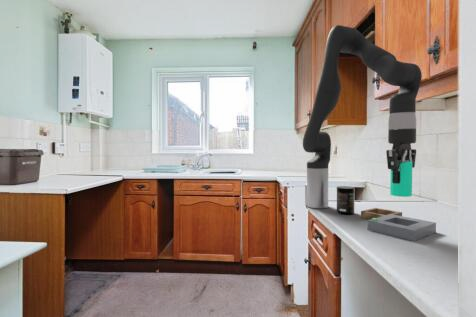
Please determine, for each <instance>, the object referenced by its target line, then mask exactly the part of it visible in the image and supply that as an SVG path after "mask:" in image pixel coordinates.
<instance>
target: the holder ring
mask: <svg viewBox="0 0 476 317" xmlns="http://www.w3.org/2000/svg"><path fill="white" fill-rule="evenodd" d="M389 214H393V215H398V216H403V211H402V212H401V211H396V210H391V209H386V208H385V209H384V208H379V207H372V208H369V209H365V210H361V211H360V218H361V219H365V220H371V219H372V218H378V217H382V216H386V215H389Z"/></svg>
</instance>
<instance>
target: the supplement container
mask: <svg viewBox="0 0 476 317" xmlns="http://www.w3.org/2000/svg"><path fill="white" fill-rule="evenodd" d="M355 192H356V190H355V186H348V185H347V186H346V185H342V186H341V185H340V186H338V185H337V186H336V213H338V214H339V215H344V216H350V215H351V216H352V215H355V214H354V213H355Z"/></svg>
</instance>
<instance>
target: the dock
mask: <svg viewBox="0 0 476 317" xmlns="http://www.w3.org/2000/svg"><path fill="white" fill-rule="evenodd" d="M367 230H369V231H372V232H375V233H379V234H383V235H389V236H391V237H395V238H396V237H397V238H400V239H405V240H408V241H413V242H415V241H418V240H420V239H423V238H425V237H428V236H431V235H433V234H435V233H437V222H434V221H428V220H423V219H418V218H412V217H407V216H403V215H402V216H398V215H393V214H389V215H386V216H382V217H378V218H372V219H371V220H369V219H367Z"/></svg>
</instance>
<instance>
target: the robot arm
mask: <svg viewBox="0 0 476 317" xmlns="http://www.w3.org/2000/svg"><path fill="white" fill-rule="evenodd" d="M341 53H342V54H351V55H355V56H357V57H358V58H360V59H361V61H362V63H363V64H364V65H365V66H366V67H367V68H369V70H371V71H373V72H374V73H376V74H377V75H378V76H379V77H380V78H381V80H382V81H383V82H385V83H386V84H388V85H390V86H395V87H399V88H398V93H396V94H393V95H391V97H390V99H389V113H388V114H389V117H388V126H387V128H388V136H387V139H388V140H387V141H388V142H387V143H389V144H392V147H391V149H387V150H386V151H385V152H386V154H385V155H386V162H387V163H386V164H387V169H388V170H390V172H391V171H393V172H392V182H393V183H397V184H399V183H400V172H399V171H401V164H402V163H404V162H412V169H413V168H415V165H416V156H417V149H415V148H412V145H411V144H416V143H417V115H416V114H417V112H416V111H417V110H416V109H417V108H416V106H417V104H416V99H417V97H418V93H419V90H420V86H421V83H422V82H421V81H422V77H423V76H422V70H421V67H420V66H419V65H418V64H415V63H409V62H403V61H399V60H397V59H398V58H397V57H396V56H395V55H394V54H393V53H391V52H389V51H387V50H386V49H384V48H382V47H381V46H378V45H376V44H374V43H372V42H371V41H370V40H369V39H367V38H366V37H365V36H364V35H363V34H362V33H361V32H360V31H359V30H358V29H356V28H354V27H350V26H345V25H339V24H338V25H335V26H333V27H332V28H331V29H330V31H329V33H328V36H327V40H326V43H325V50H324V57H323V63H322V69H321V72H320V77H319V82H318V86H317V89H316V93H315V97H314V102H313V107H312V110H311V113H310V117H309V120H308V123H307V126H306V129H305V131H304V134H303V138H302V147H303V150H304V152H306V153H315V155H314V157H313V158H311V159H310V160H308V161H307V162H306V183H305V185H304V206H306V207H308V208H311V209H326V208H329V164H330V161H331V151H332V150H331V149H332V139H331V137H330V135H329V132H325V131H321V129H322V126H323V124H324V122H325V120H326V119H327V118H328V117H329V115H331V113H332V112H333V110H334V109H335V108H336V107H337V105H338V102H339V98H340V94H341V91H342V83H341V82H342V81H341V78H340V74H339V70H338V68H339V67H338V65H339V64H338V63H339V57H340V54H341ZM391 163H392V165H391Z"/></svg>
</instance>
